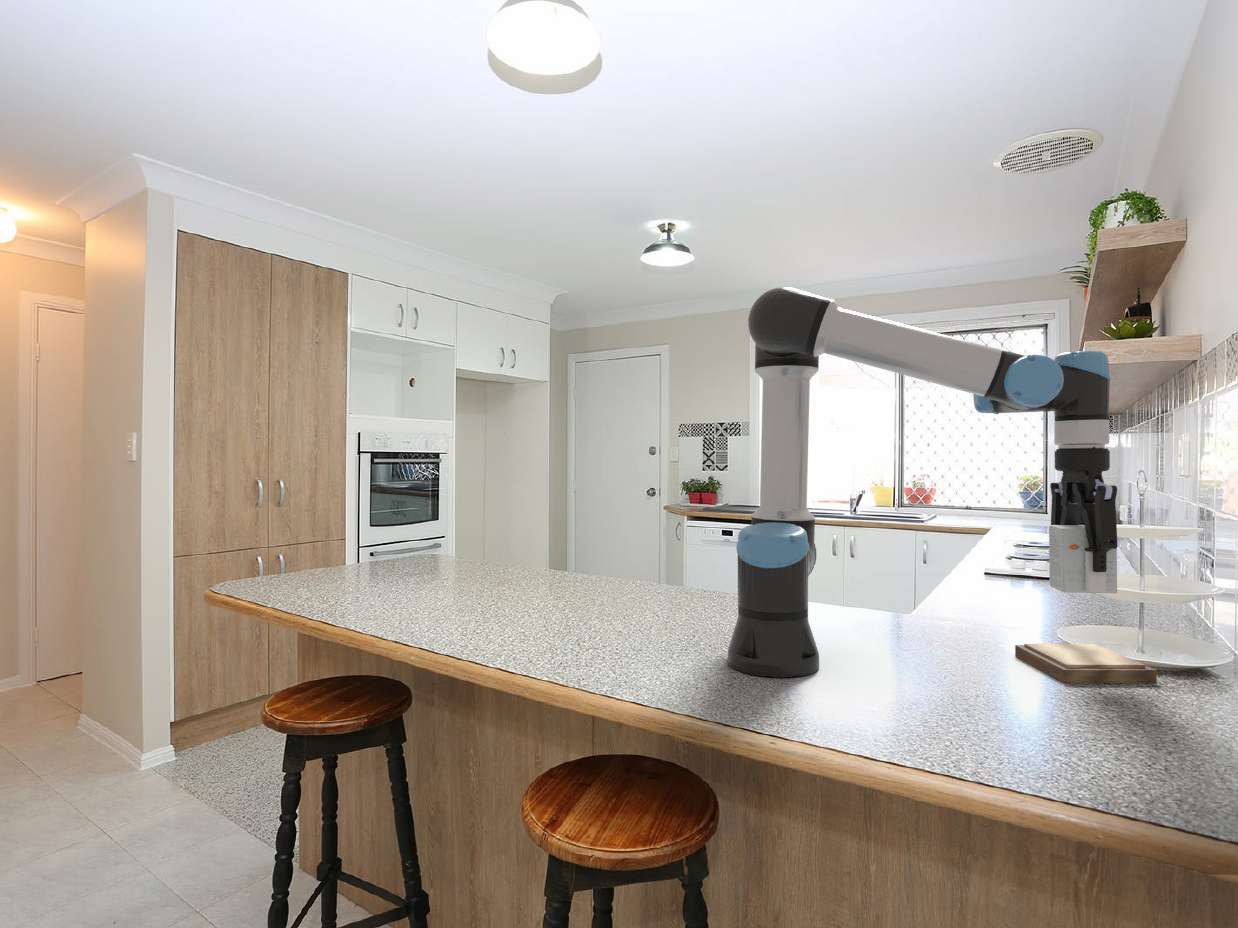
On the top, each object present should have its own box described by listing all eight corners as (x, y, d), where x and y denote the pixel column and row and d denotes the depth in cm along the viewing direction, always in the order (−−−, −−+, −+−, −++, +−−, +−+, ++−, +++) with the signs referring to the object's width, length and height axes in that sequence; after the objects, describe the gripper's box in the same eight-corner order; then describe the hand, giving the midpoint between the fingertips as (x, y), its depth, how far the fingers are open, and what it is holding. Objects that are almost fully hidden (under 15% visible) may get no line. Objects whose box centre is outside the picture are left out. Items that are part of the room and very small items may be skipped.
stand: (1063, 682, 107) (1063, 666, 107) (1015, 656, 121) (1015, 642, 121) (1156, 682, 107) (1156, 666, 107) (1097, 656, 121) (1097, 642, 121)
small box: (1101, 587, 116) (1100, 524, 116) (1118, 594, 110) (1118, 528, 110) (1048, 586, 118) (1048, 524, 117) (1062, 592, 112) (1062, 527, 112)
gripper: (1147, 445, 104) (1147, 599, 104) (1069, 447, 123) (1069, 577, 123) (1096, 446, 104) (1096, 600, 105) (1026, 448, 123) (1026, 577, 124)
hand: (1082, 587), depth 114 cm, fingers closed on small box, 6 cm apart
